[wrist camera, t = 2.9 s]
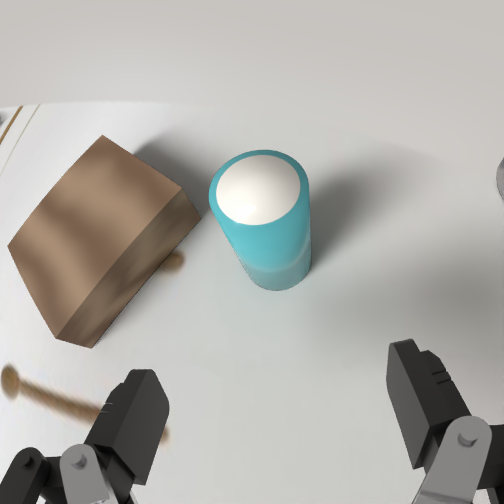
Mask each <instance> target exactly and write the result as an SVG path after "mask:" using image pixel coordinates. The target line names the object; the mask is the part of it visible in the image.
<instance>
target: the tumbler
mask: <svg viewBox="0 0 504 504" xmlns="http://www.w3.org/2000/svg"><path fill="white" fill-rule="evenodd" d="M209 203H210V207H211V209H212V212H213V213H214V215H215V217H216V219H217V221H218V222H219V224H220V226H221V228H222V230H223V231H224V233H225V235H226V237H227V239H228V240H229V242H230V244H231V246H232V248H233V249H234V251H235V253H236V255H237V257H238V258H239V260H240V262H241V264H242V265H243V267H244V269H245V271H246V273H247V274H248V276H249V277H250V279H251V280H252V281H253V282H254V283H255V284H256V285H258V286H260V287H262V288H264V289H267V290H272V291H279V290H285V289H288V288H291V287H293V286H295V285H296V284H298V283H299V282H300V281H301V280H302V279H303V278H304V277H305V276H306V274H307V272H308V270H309V268H310V264H311V231H310V202H309V183H308V178H307V175H306V173H305V171H304V169H303V168H302V166H301V165H300V164H299V163H298V162H297V161H296V160H294V159H293V158H292V157H290V156H288V155H286V154H284V153H281V152H278V151H272V150H255V151H250V152H246V153H243V154H241V155H238V156H236V157H234V158H233V159H231V160H229V161H228V162H227V163H225V164H224V165H223V166H222V167H221V168H220V169H219V170H218V172H217V173H216V175H215V176H214V178H213V180H212V182H211V185H210V189H209Z"/></svg>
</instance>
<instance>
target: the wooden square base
mask: <svg viewBox="0 0 504 504" xmlns="http://www.w3.org/2000/svg"><path fill="white" fill-rule="evenodd" d="M200 220H201V217H200V215H199V214H198V212H197V211H196V209H195V208H194V206H193V204H192V203H191V201H190V200H189V198H188V196H187V195H186V193H185V192H184V190H183V188H182V187H180V186H179V185H177V184H176V183H174V182H173V181H171V180H170V179H168V178H167V177H165V176H164V175H162V174H161V173H159V172H158V171H156V170H155V169H153V168H152V167H150V166H149V165H147V164H146V163H144V162H143V161H141V160H140V159H138V158H137V157H135V156H134V155H132V154H131V153H129V152H128V151H126V150H125V149H123V148H122V147H120V146H119V145H117V144H116V143H114V142H113V141H111V140H110V139H108V138H106V137H105V136H103V135H102V136H101V137H100V138H99V139H98V140H97V141H96V142H95V143H94V144H93V145H92V146H91V147H90V148H89V149H88V150H87V151H86V152H85V153H84V154H83V155H82V156H81V157H80V158H79V159H78V160H77V161H76V162H75V163H74V164H73V165H72V166H71V167H70V169H69V170H68V171H67V172H66V173H65V174H64V175H63V176H62V177H61V179H60V180H59V181H58V182H57V183H56V184H55V185H54V187H53V188H52V189H51V190H50V191H49V192H48V194H47V195H46V196H45V197H44V198H43V200H42V201H41V202H40V203H39V205H38V206H37V207H36V208H35V210H34V211H33V212H32V213H31V215H30V216H29V217H28V219H27V220H26V221H25V223H24V224H23V225H22V227H21V228H20V229H19V231H18V232H17V233H16V235H15V236H14V238H13V239H12V240H11V242H10V243H9V245H8V249H9V251H10V253H11V255H12V258H13V260H14V262H15V264H16V266H17V269H18V271H19V273H20V275H21V277H22V279H23V281H24V283H25V285H26V287H27V289H28V291H29V293H30V295H31V297H32V299H33V300H34V302H35V304H36V306H37V308H38V310H39V311H40V313H41V315H42V317H43V318H44V320H45V322H46V324H47V325H48V327H49V329H50V330H51V332H52V334H53V335H54V337H55V338H56V339H59V340H62V341H66V342H69V343H73V344H76V345H80V346H83V347H87V348H92V347H93V346H94V344H95V343H96V342H97V340H98V339H99V338H100V337H101V335H102V334H103V333H104V332H105V330H106V329H107V328H108V327H109V325H110V324H111V323H112V322H113V320H114V319H115V318H116V317H117V316H118V314H119V313H120V312H121V311H122V309H123V308H124V307H125V306H126V305H127V303H128V302H129V301H130V300H131V299H132V297H133V296H134V295H135V294H136V293H137V291H138V290H139V289H140V288H141V287H142V285H143V284H144V283H145V282H146V281H147V280H148V278H149V277H150V276H151V275H152V274H153V273H154V271H155V270H156V269H157V268H158V267H159V266H160V264H161V263H162V262H163V261H164V260H165V259H166V258H167V256H168V255H169V254H170V253H171V252H172V251H173V250H174V248H175V247H176V246H177V245H178V244H179V243H180V242H181V241H182V239H183V238H184V237H185V236H186V235H187V234H188V233H189V232H190V231H191V229H192V228H193V227H194V226H195V225H196V224H197V223H198V222H199V221H200Z"/></svg>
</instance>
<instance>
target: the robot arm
mask: <svg viewBox="0 0 504 504" xmlns="http://www.w3.org/2000/svg"><path fill="white" fill-rule="evenodd" d="M497 184H498V188H499V191H500V194H501V196H502V198H503V200H504V158H503V160H502V162H501V163H500V165H499V166H498V170H497ZM386 382H387V390H388V394H389V397H390V399H391V402H392V405H393V408H394V411H395V414H396V417H397V420H398V423H399V426H400V429H401V432H402V435H403V438H404V441H405V445H406V448H407V451H408V454H409V458H410V461H411V464H412V468H413V469H417V468H420V467H424V470H425V473H426V476H425V478H424V480H423V482H422V484H421V486H420V488H419V490H418V492H417V494H416V496H415V498H414V500H413V502H412V503H411V504H473V503H472V502H473V498H474V495H475V492H476V490H479V489H487V492H488V496H489V499H490V503H491V504H504V424H503V425H488V424H487V423H486V422H485V421H484V420H483V419H481V418H479V417H476V416H472V415H471V413H470V412H469V410H468V408H467V406H466V404H465V402H464V400H463V399H462V397H461V395H460V393H459V391H458V389H457V388H456V386H455V384H454V382H453V381H451V377H450V375H449V374H448V372H446V368H445V367H444V365H443V363H442V362H441V360H440V358H438V357H437V356H436V355H434V354H433V353H432V352H430V351H429V350H427V351H423V352H420V351H419V349H418V347H417V345H416V344H415V342H414V340H413V339H407V340H403V341H398V342H394V343H390V345H389V353H388V365H387V375H386ZM105 403H106V404H105V405H104V406H103V408H102V409H101V413H99V415H98V417H97V419H96V421H95V423H94V425H93V426H92V428H91V430H90V432H89V434H88V436H87V438H86V440H85V442H84V443H83V444H77V445H74V446H71V447H70V448H68V449H67V450H66V451H65V452H64V453H63V454H62V456H59V457H44V456H43V455H42V454H41V453H40V451H39V450H38V449H36V448H33V447H28V448H25V449H23V450H21V451H20V452H18V453H17V455H16V456H15V457H14V459H13V461H12V463H11V465H10V467H9V469H8V471H7V472H6V474H5V476H4V478H3V480H2V482H1V484H0V504H36V502H37V500H38V498H39V495H40V496H41V497H43V498H44V499H45V500H46V502H45V504H138V502H137V500H136V498H135V496H134V494H133V492H132V491H131V488H132V485H133V484H139V485H145V484H146V481H147V478H148V475H149V472H150V469H151V466H152V463H153V460H154V457H155V454H156V451H157V448H158V445H159V442H160V439H161V436H162V433H163V430H164V427H165V424H166V421H167V418H168V415H169V401H168V398H167V396H166V394H165V392H164V390H163V388H162V386H161V384H160V382H159V380H158V378H157V376H156V374H155V372H154V371H153V370H151V369H133V370H131V371H130V372H129V374H128V376H127V378H126V380H125V381H124V383H120V384H119V385H118V386H117V387H116V388H115V389H114V390H113V391H112V392H111V393H110V395H109V397H108V398H107V400H106V402H105Z"/></svg>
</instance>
